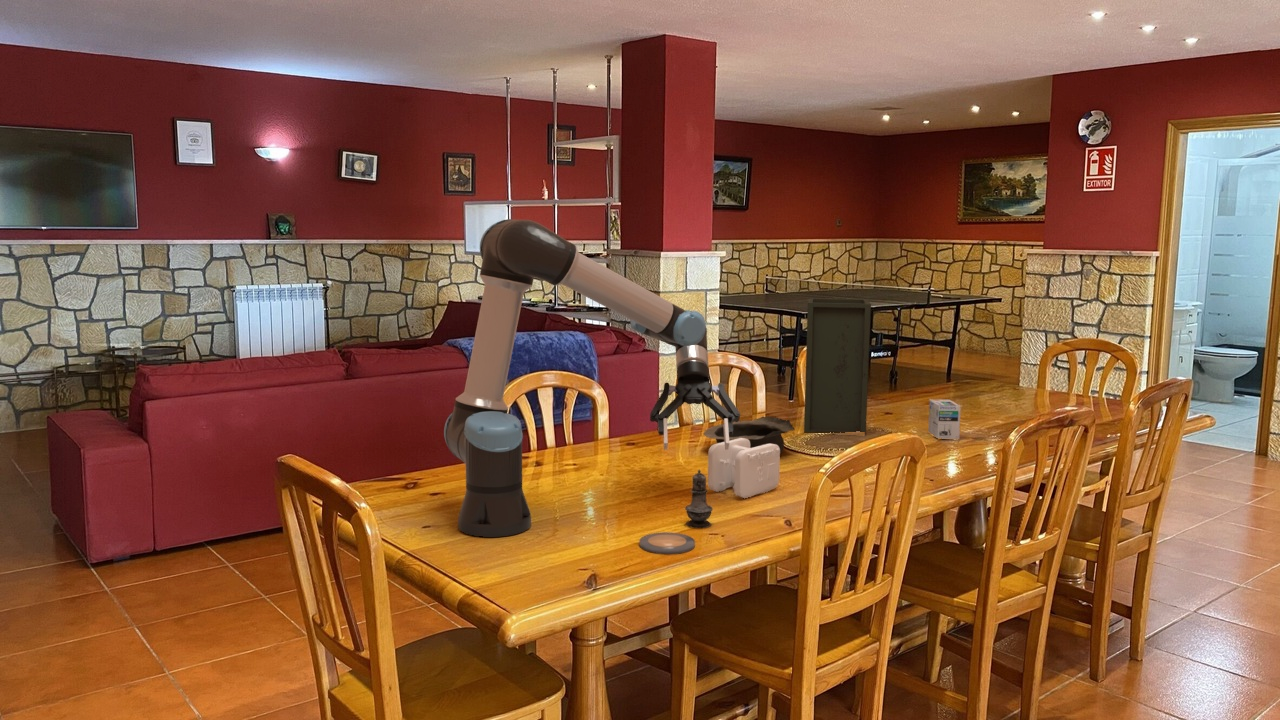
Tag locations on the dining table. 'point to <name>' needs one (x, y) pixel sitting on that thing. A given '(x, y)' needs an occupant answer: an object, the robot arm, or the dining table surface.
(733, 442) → the cable organizer
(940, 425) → the light bulb box
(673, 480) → the dining table surface
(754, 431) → the black brimmed hat
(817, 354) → the dark green rectangular pillar
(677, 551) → the coaster
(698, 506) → the salt shaker
